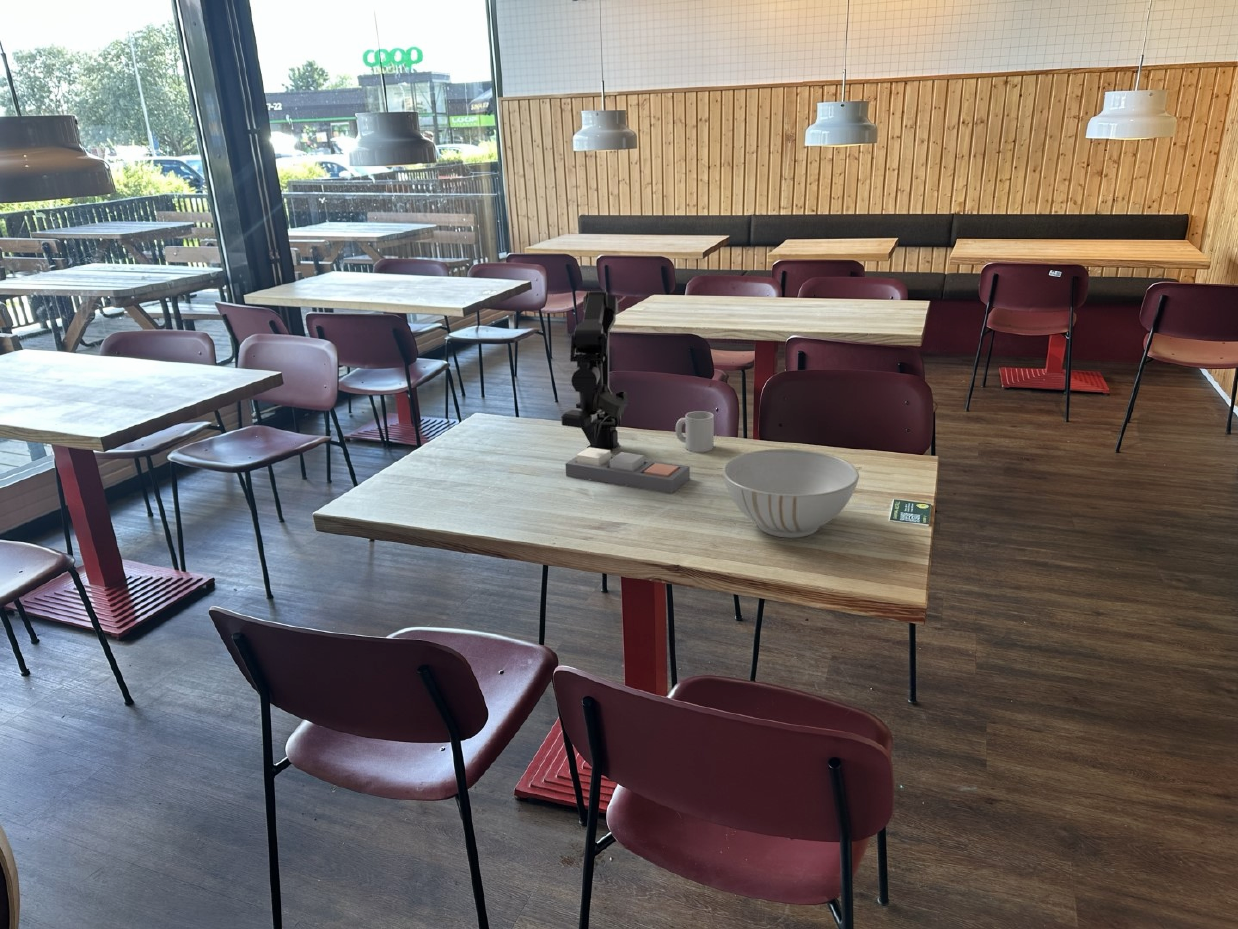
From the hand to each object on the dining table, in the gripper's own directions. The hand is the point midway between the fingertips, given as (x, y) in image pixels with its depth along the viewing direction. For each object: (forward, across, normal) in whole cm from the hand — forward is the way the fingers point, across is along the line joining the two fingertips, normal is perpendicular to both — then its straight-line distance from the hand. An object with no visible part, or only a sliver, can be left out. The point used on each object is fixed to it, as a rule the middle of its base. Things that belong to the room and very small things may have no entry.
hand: (593, 444), depth 210 cm
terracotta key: (+6, 0, -18) cm, 19 cm away
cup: (+7, +26, -15) cm, 31 cm away
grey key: (+4, 0, -9) cm, 10 cm away
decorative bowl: (+7, -11, -52) cm, 54 cm away
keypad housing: (+7, 0, -9) cm, 11 cm away
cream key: (+4, 0, 0) cm, 4 cm away
